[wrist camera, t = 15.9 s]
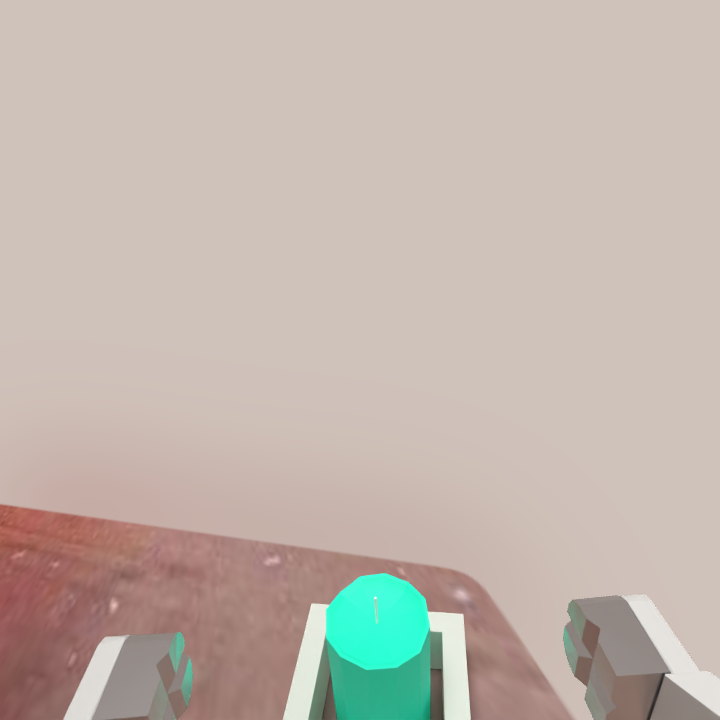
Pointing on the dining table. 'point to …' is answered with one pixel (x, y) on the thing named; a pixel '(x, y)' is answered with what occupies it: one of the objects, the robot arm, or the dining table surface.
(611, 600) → the robot arm
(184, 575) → the dining table surface
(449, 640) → the frame
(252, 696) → the dining table surface
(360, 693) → the candle
